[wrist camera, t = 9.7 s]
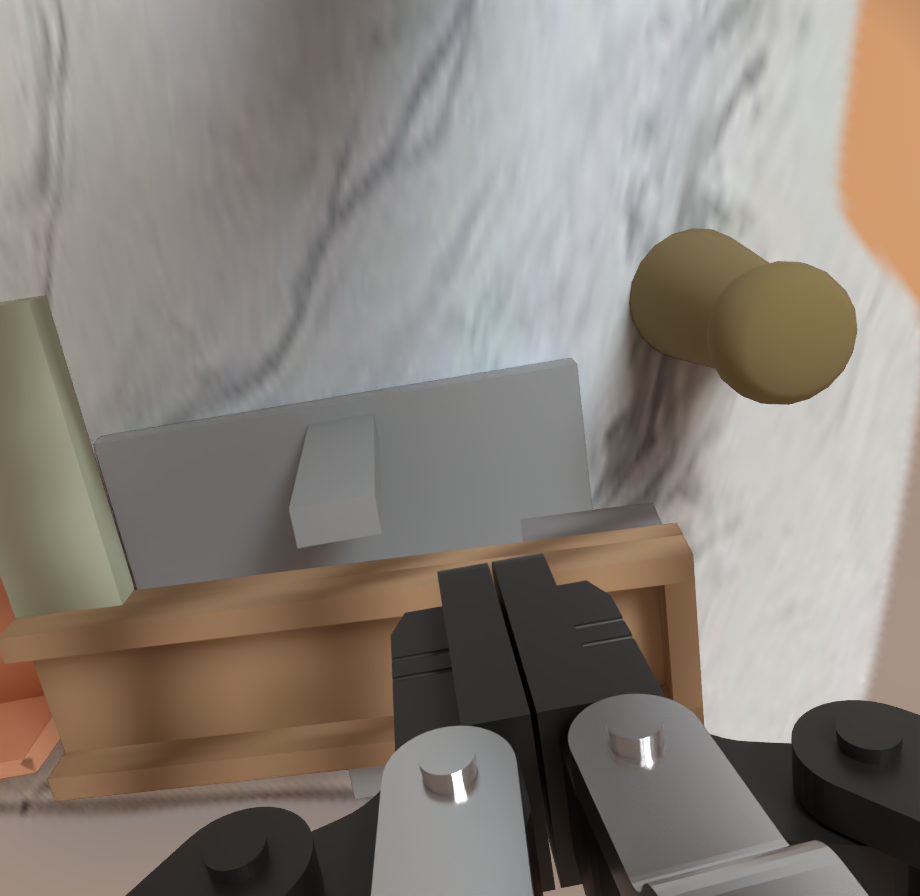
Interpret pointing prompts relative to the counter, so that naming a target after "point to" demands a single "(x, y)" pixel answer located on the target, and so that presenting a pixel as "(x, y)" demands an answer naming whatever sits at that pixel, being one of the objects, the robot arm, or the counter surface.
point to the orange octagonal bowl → (22, 711)
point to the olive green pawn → (744, 316)
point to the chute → (249, 614)
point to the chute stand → (350, 480)
